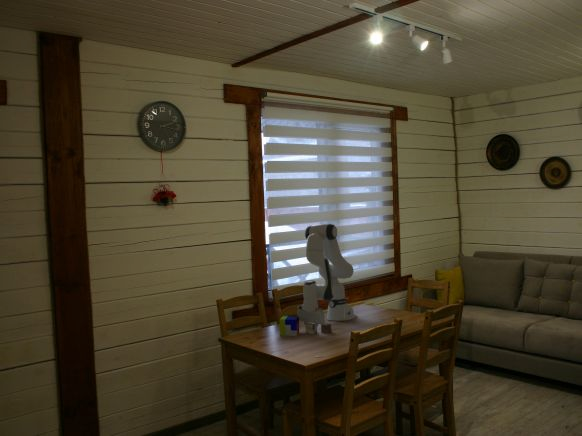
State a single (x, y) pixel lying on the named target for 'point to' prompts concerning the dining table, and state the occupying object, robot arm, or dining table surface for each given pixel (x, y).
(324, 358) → the dining table surface
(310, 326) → the block birch
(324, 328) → the block walnut
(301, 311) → the robot arm
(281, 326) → the puzzle toy
